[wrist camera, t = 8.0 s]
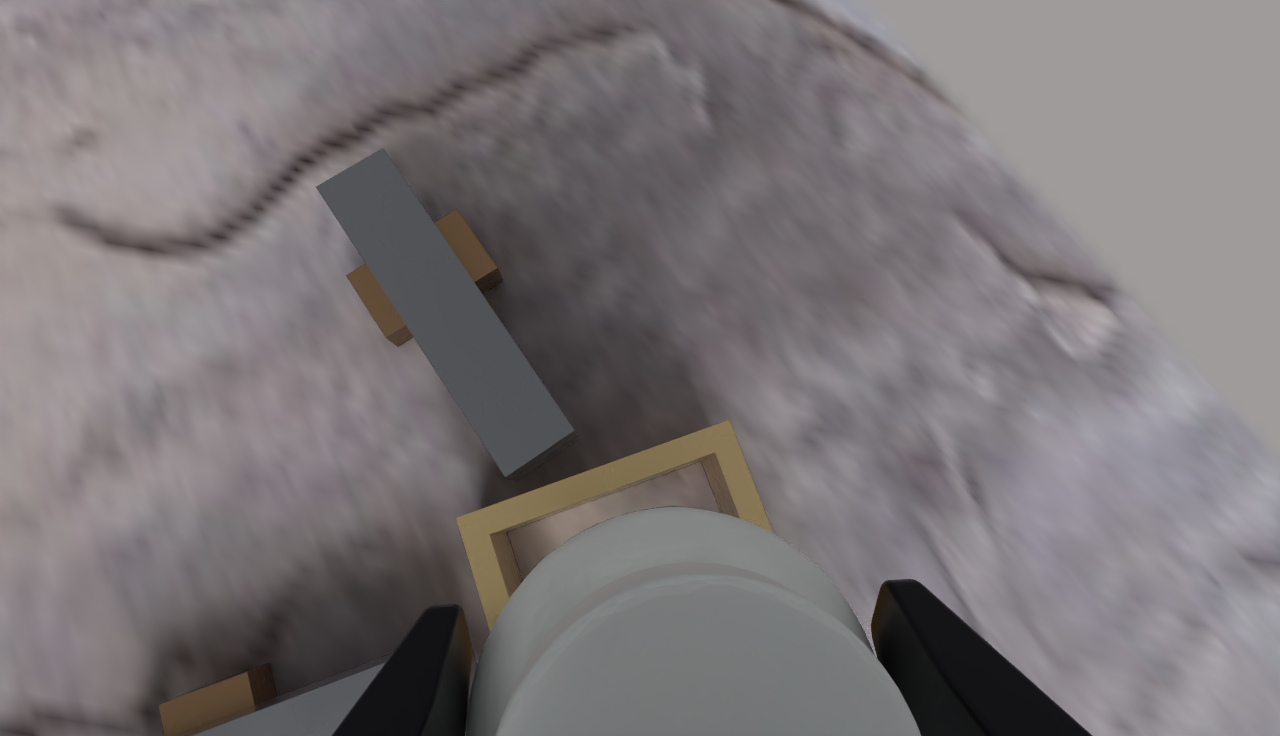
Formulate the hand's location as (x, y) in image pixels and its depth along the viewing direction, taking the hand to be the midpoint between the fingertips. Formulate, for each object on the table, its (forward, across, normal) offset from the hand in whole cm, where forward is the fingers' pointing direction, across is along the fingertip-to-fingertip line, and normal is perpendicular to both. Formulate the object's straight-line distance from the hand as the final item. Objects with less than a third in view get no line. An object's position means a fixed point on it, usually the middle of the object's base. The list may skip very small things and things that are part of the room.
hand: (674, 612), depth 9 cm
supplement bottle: (+4, 0, +6) cm, 7 cm away
